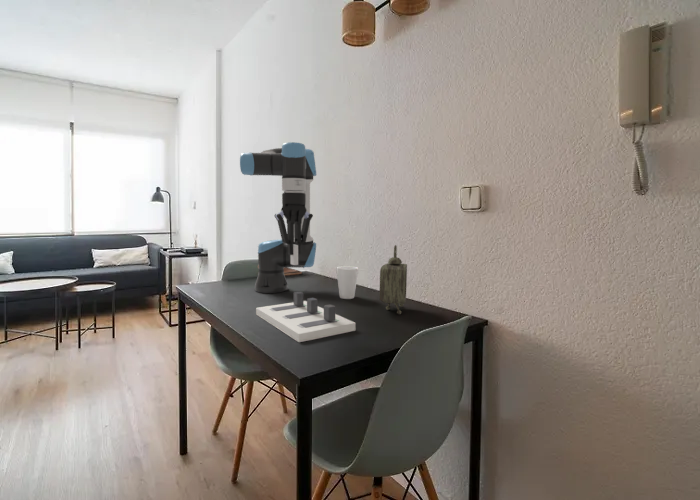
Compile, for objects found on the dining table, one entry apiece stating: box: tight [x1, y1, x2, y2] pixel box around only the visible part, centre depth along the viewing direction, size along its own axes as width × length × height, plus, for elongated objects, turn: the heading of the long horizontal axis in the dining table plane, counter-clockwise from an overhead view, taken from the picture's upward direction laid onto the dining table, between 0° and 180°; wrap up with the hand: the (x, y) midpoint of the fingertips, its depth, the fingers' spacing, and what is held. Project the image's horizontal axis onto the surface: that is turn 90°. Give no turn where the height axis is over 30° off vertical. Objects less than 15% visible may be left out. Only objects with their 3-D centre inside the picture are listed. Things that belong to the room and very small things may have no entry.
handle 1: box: [293, 291, 304, 306], centre depth 140 cm, size 3×2×4 cm
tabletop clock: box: [379, 244, 408, 315], centre depth 144 cm, size 14×9×25 cm, turn 168°
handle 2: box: [323, 304, 336, 321], centre depth 122 cm, size 3×2×4 cm
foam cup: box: [336, 265, 359, 300], centre depth 165 cm, size 10×9×13 cm
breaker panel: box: [255, 300, 356, 343], centre depth 129 cm, size 34×20×3 cm, turn 34°
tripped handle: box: [306, 297, 319, 313], centre depth 131 cm, size 3×2×4 cm
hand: (294, 264), depth 126 cm, fingers closed
